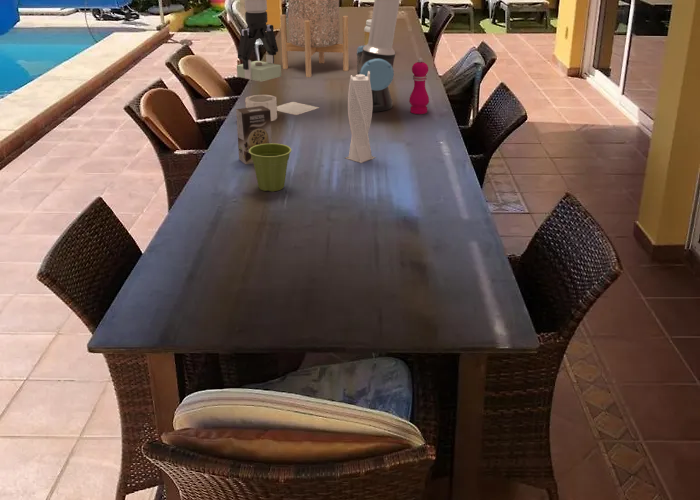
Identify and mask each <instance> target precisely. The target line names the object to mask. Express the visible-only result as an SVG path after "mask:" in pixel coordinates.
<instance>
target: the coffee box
mask: <svg viewBox="0 0 700 500" xmlns="http://www.w3.org/2000/svg"><path fill="white" fill-rule="evenodd" d="M235 112H236V113H235V114H236V128H237V129H236V130H237V148H238V149H237V150H238V159H239V160H240V161H241V162H242V163H243V164H244V165H252V164H254V163H253V160H252V157H251V154H250V153H249V149H250V148H251V147H253V146H255V145H260V144H269V143H273V141H272V121H271V114H270V110H269V109H268V108H266V107H264V106H257V107H249V108H246V107H242V108H236V109H235Z"/></svg>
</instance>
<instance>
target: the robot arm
mask: <svg viewBox="0 0 700 500" xmlns="http://www.w3.org/2000/svg"><path fill="white" fill-rule="evenodd" d="M400 2H401V0H374V2H373V9H372V15H371V19H372V21H371V27H370V34H369V40H368V44H367V45H359V46H357V49H356V70H357V71H356V75H359V74H362V75H365V76H368V71H370V84H371V91H372V101H373V109H372V113H373V112H375V113H376V112H377V113H378V112H384V111H388V110H390V109H392V108H393V99H392V96H391V92H390V89H389V86H390V85H391V83H392V81H393V79H394V76H395V75H394V74H395V73H394V72H395V71H394V65H395V57H396V51H395V50H394V49H393V45H394V44H393V43H394V40H395V39H394V38H395V32H396V27H397V20H398V14H399V8H400ZM267 3H268V2H267V0H244V10H245V11H246V12H245V13H244V16H245V23H246V29H243V28H242V29H240V30H239V33H240V34H239V35H240V39H239V45H238V53H237V59H239V60H241V61H242V64H243V69H244V70H245V78H244V79H246V80H251V79H252V72H251V62H252V60H251V59H250V57H251V53H252V52H253V48H254V45H255V43H256V42H257V40H259V39H260V41H261V43H262V44H263V46H264V47H263V48H264V49H265V50H266V52H267V54H265V62H267V63H272V64H275V56H276V55H277V53H278V52H279V47H278V44H277V40H276V36H275V32H274V25H273V24H268V11H267V10H268V5H267Z"/></svg>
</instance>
